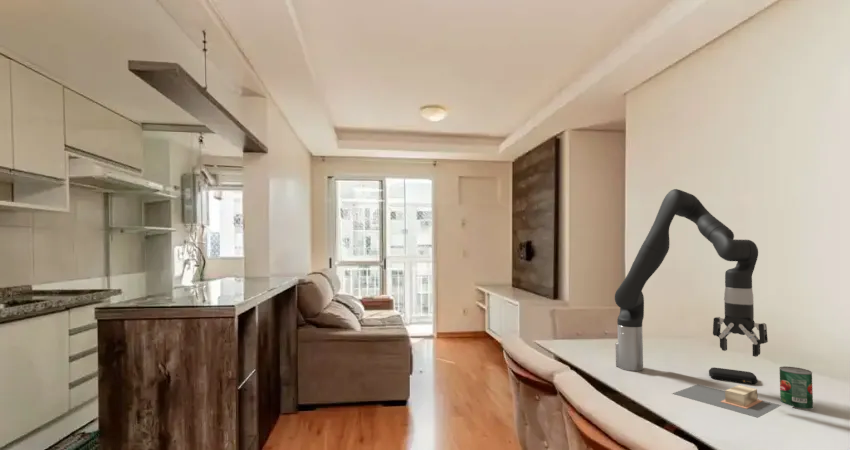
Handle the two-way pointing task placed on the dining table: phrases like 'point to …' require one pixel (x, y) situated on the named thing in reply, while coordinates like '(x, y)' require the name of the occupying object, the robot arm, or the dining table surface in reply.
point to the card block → (741, 395)
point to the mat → (718, 399)
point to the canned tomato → (796, 387)
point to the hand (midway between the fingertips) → (739, 353)
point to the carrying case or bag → (733, 375)
